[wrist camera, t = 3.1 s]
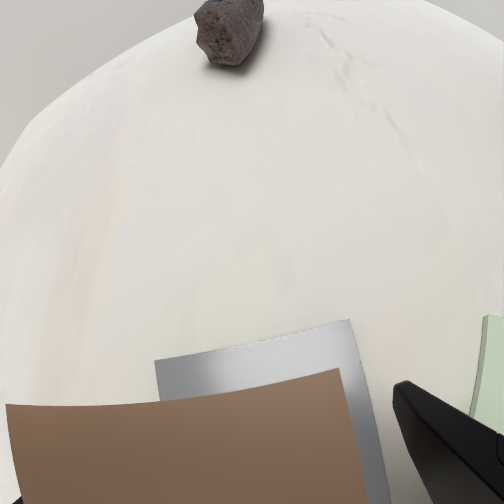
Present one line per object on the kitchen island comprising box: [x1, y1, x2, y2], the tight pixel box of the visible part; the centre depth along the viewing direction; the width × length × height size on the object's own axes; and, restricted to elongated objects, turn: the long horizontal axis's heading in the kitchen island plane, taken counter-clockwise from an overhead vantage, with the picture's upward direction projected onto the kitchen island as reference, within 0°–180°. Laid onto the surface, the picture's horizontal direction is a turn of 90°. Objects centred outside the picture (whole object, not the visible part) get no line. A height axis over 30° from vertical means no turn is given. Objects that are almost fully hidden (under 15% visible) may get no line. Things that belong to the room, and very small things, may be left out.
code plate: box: [155, 319, 391, 504], centre depth 13 cm, size 10×10×1 cm
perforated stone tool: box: [194, 0, 264, 66], centre depth 25 cm, size 15×5×7 cm, turn 165°
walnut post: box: [6, 367, 368, 504], centre depth 7 cm, size 5×5×12 cm
